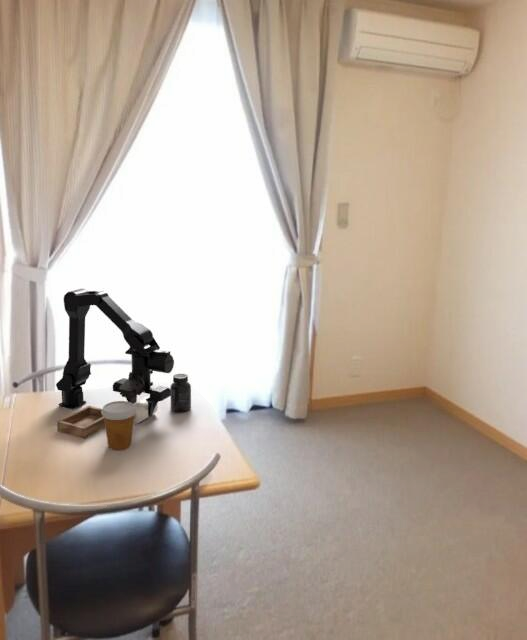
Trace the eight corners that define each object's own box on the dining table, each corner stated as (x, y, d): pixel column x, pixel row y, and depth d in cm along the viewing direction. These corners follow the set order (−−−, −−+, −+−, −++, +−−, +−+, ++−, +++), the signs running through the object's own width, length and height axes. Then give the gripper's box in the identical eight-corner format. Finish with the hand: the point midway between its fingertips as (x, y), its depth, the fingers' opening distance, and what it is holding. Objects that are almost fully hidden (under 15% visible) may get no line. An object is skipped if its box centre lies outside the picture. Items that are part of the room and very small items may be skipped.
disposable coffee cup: (142, 441, 164) (142, 403, 161) (124, 455, 155) (123, 415, 152) (115, 435, 167) (113, 398, 164) (95, 449, 158) (94, 410, 155)
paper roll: (140, 426, 174) (140, 408, 173) (125, 422, 177) (124, 404, 175) (158, 415, 183) (158, 398, 181) (143, 411, 185) (143, 394, 184)
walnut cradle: (57, 431, 168) (56, 421, 168) (89, 414, 181) (89, 405, 180) (84, 438, 164) (84, 428, 164) (115, 421, 177) (115, 411, 176)
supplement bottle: (193, 406, 191) (193, 373, 188) (188, 414, 184) (188, 380, 181) (173, 404, 191) (173, 371, 188) (168, 412, 185) (167, 378, 182)
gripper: (100, 370, 172) (102, 417, 176) (150, 381, 165) (151, 429, 169) (123, 360, 182) (124, 405, 186) (171, 370, 175) (171, 416, 179)
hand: (141, 414), depth 179 cm, fingers open, 6 cm apart
